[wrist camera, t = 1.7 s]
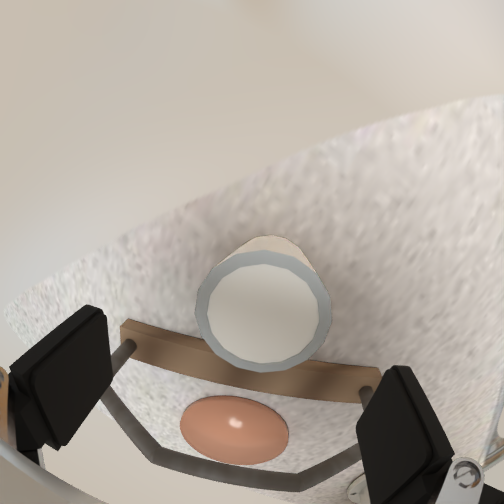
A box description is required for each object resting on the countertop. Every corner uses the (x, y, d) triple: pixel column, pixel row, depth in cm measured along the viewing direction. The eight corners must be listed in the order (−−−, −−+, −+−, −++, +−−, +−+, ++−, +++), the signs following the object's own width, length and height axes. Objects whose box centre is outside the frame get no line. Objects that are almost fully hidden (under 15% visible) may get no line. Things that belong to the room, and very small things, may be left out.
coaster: (308, 441, 24) (308, 446, 24) (228, 467, 27) (226, 472, 26) (242, 379, 23) (241, 385, 22) (161, 415, 26) (159, 420, 25)
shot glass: (267, 333, 22) (259, 392, 15) (202, 270, 21) (167, 311, 14) (336, 276, 20) (360, 321, 13) (271, 205, 19) (265, 218, 13)
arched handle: (378, 367, 21) (418, 473, 10) (365, 393, 22) (394, 496, 11) (128, 318, 23) (46, 399, 12) (129, 346, 24) (58, 429, 12)
